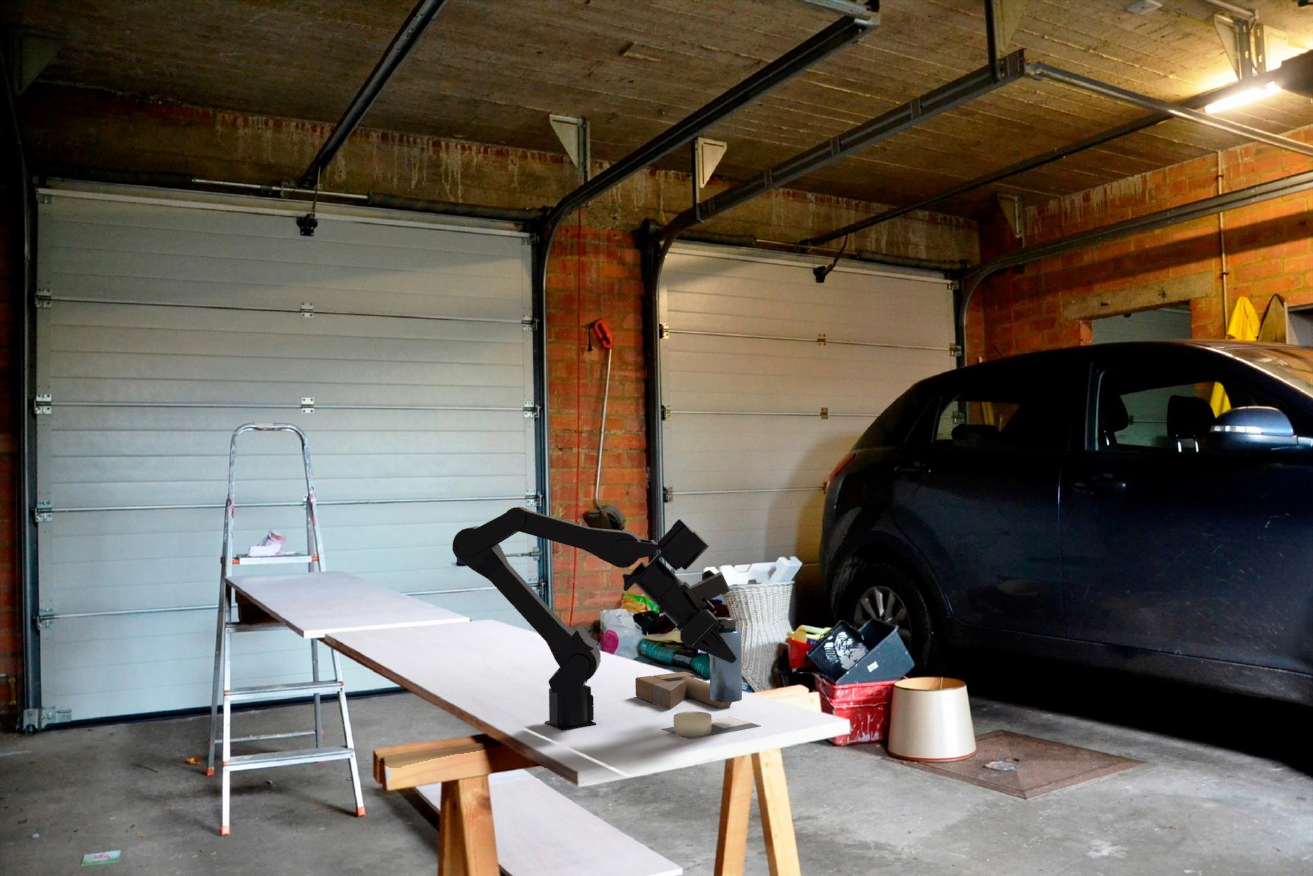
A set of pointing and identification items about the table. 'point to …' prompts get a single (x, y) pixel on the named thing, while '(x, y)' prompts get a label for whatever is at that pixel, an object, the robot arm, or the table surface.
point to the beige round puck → (692, 724)
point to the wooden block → (674, 690)
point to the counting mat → (722, 726)
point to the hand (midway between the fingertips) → (734, 658)
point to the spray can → (727, 665)
